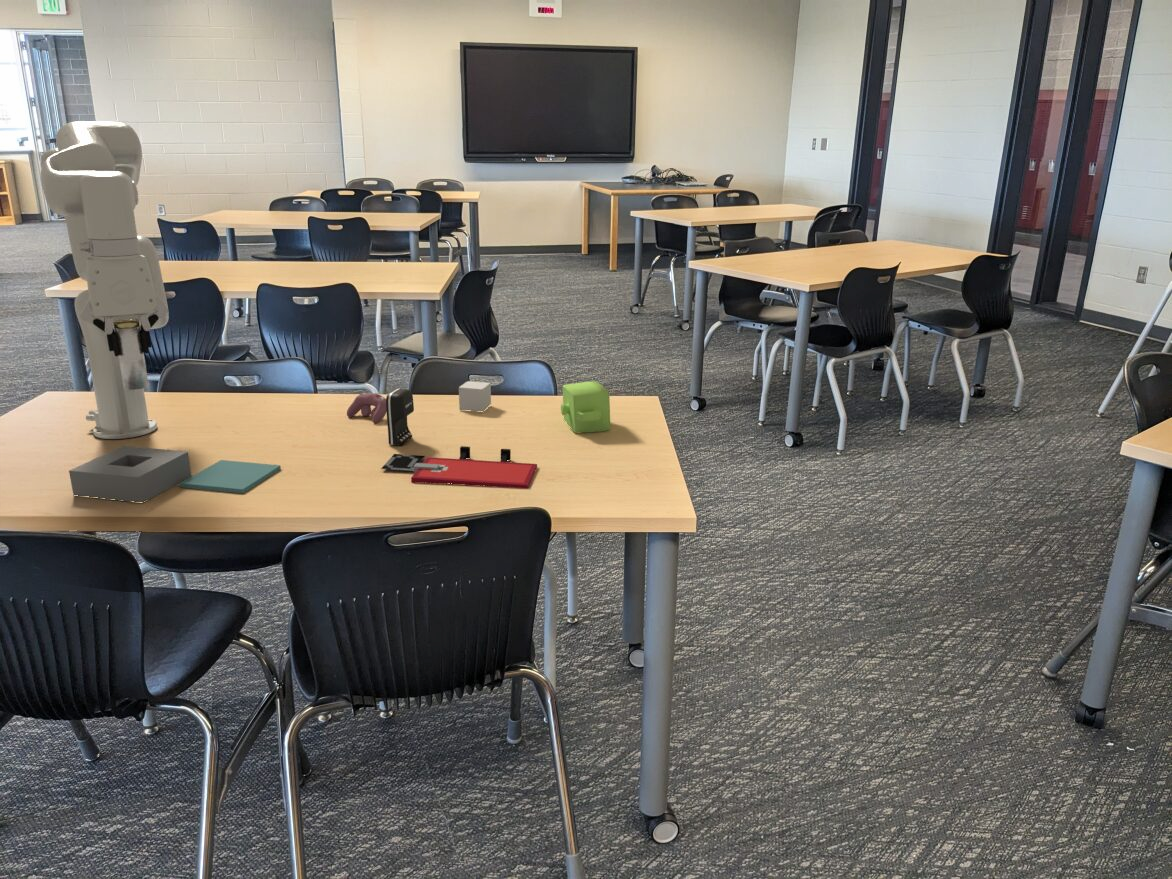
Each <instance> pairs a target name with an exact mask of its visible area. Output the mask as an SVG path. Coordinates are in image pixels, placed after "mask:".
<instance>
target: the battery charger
mask: <svg viewBox="0 0 1172 879" xmlns="http://www.w3.org/2000/svg"><path fill="white" fill-rule="evenodd" d="M385 399H386V423H387V435H388V445H390V446H402V445H405V444H407V442H409V441H410V440H412V439H413V434H412V433H411V431H410V428H409V425H408V416H409V415H411V414H412V413H413V412H414V411H415V406H414V397H413V392H412V391H411V390H410V389H406V388H405V389H404V388H395V389H393V390H392V391H390V392H389V393H387V395H386V398H385Z"/></svg>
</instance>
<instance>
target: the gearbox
mask: <svg viewBox="0 0 1172 879" xmlns="http://www.w3.org/2000/svg"><path fill="white" fill-rule="evenodd" d="M610 399H611V398H610V391H609V390H608V389H607V388H606V387H605V386H604V385H603V384H601V383H600V382H598V380H596V381H595V380H593V381H592V380H591V381H583V382H577V383H576V382H575V383H574V382H573V383H569V384H568V383H567V384H563V385H562V404H560V412H561V415H562V416H563V421H564V420H565V421H566V422H567V424H568V425H569V426H570V427H571V428H572V430H573V431H574V432H575V433H574V432H573V431H572V430H571V431H572V432H573V433H574V434H578V433H577V432H587V433H596V432H597V431H598V432H604V431H609V430H611V407H610V406H611V404H610V402H611V401H610ZM565 421H564V422H565ZM567 424H566V425H567ZM568 425H567V426H568ZM569 426H568V427H569ZM595 431H596V432H595Z"/></svg>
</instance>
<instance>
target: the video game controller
mask: <svg viewBox="0 0 1172 879" xmlns="http://www.w3.org/2000/svg"><path fill="white" fill-rule="evenodd" d="M371 406H373V407H374V408H372V407H371ZM359 412H361V415H362V416H365V417H370V416H371V418H372V422H373V423H374V424H378V423H380V422H381V421H383V419H384V418H385V415H387V412H386V398H385V397H384V396H382V394H379V393H376V392H375V393H374V392H364V393H363V392H360V393H359V395H357V396H356V397H355V398H354V400H353V401H352V403H351V404H350V405H349V407H348V408H347V410H346V416H347V418H352V417H355V416H356V415H357V414H358V413H359Z"/></svg>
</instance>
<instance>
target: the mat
mask: <svg viewBox="0 0 1172 879" xmlns="http://www.w3.org/2000/svg"><path fill="white" fill-rule="evenodd" d="M281 468H282V467H281V465H279V464H271V463H270V464H268V463H259V462H247V461H236V460H225V459H220V460H218V461H217V462H215V463H213V464H211V465H210V466H207V467H206V468H203V469H202V470H200V471H198V472H196V473H195V474H193V475H191V477H189V478H187V479H185V480H184V481H182V482H180V483H179V487H180V488H184V489H185V488H186V489H196V490H207V491H215V492H217V491H218V492H226V493H234V494H235V493H237V494H245V493H246V492H248V491H250V490H251V489H252V488H254V487H255V486H257V485H259V484H260V483H261V482H264V480H266V479H268V478H270V477H271V476H273V475H274V474H276V473H277V472H279V471H280V470H281Z"/></svg>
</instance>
